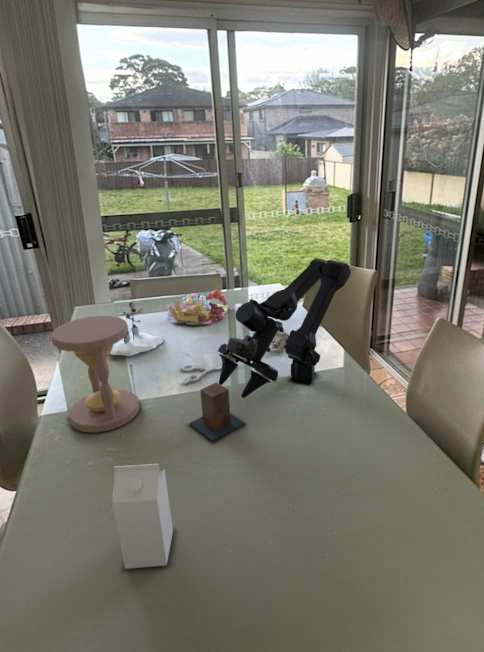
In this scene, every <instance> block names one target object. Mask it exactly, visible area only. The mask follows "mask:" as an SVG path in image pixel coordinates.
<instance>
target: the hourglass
mask: <svg viewBox="0 0 484 652" xmlns="http://www.w3.org/2000/svg"><path fill="white" fill-rule="evenodd" d="M128 331H129V326H128V323H127V321H126V320H125V319H123V318H122V317H119V316H114V315H93V316H85V317H81V318H76V319H73V320H70V321H67V322H65V323H63V324H61V325H59V326H57V327H56V328H55V329H54V330H53V331H52V332H51V343H52V345H53V346H54V347H55V348H57V349H58V350H61V351H65V352H73V354H74V355H75V357H77V358H78V359H79V360H80V361H81V362H83V364H85V365H86V366H87V367H88V368H87V376H88V379H89V382H90V384H91V389H92V393H90V394H88V395H86V396H84V397H83V398H81V399H79V400H77V401H76V402H75V403H74V404H73V405H72V407H71V408H70V410H69V412H68V420H69V423H70V425H71V426H72V428H74V429H75V430H78V431H79V432H83V433H93V434H95V433H97V434H98V433H103V432H109V431H111V430H115V429H117V428H120V427H122V426H124V425H125V424H127V423H129V422H131V420H133V419H134V418H135V417H136V416H137V415H138V412H139V410H140V407H141V405H140V400H139V397H138V395H136V394H135V393H134V392H132V391H130V390H126V389H118V388H117V389H116V388H112V387H111V385H110V383H109V377H110V368H109V364H108V361H107V360H108V359H109V357H110V355H111V354H110V353H111V351H112V348H113V344H115V343H117V342H119V341H120V340H122V339H123V338H124V337H125V336H126V335H127V333H128Z"/></svg>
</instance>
